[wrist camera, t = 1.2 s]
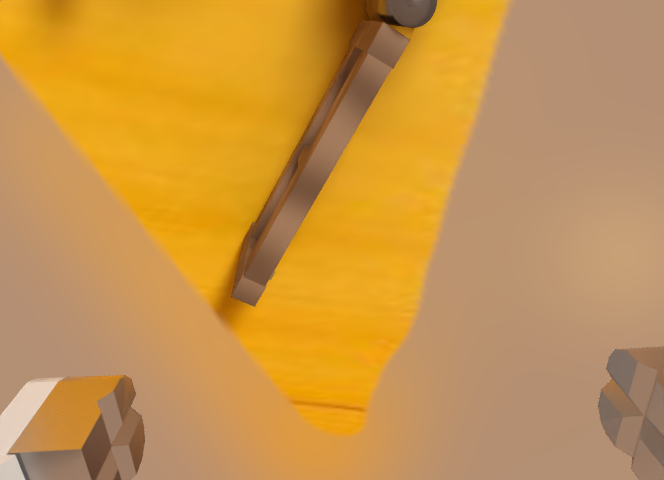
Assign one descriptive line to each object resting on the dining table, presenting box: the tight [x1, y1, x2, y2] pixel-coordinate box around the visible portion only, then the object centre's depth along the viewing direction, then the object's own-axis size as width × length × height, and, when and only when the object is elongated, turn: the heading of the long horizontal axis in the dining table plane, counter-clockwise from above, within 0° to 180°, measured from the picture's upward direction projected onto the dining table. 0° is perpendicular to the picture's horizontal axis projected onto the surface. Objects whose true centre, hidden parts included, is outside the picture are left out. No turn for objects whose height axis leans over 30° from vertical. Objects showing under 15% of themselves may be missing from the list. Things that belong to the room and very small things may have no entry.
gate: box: [231, 20, 410, 307], centre depth 35 cm, size 20×3×10 cm, turn 151°
